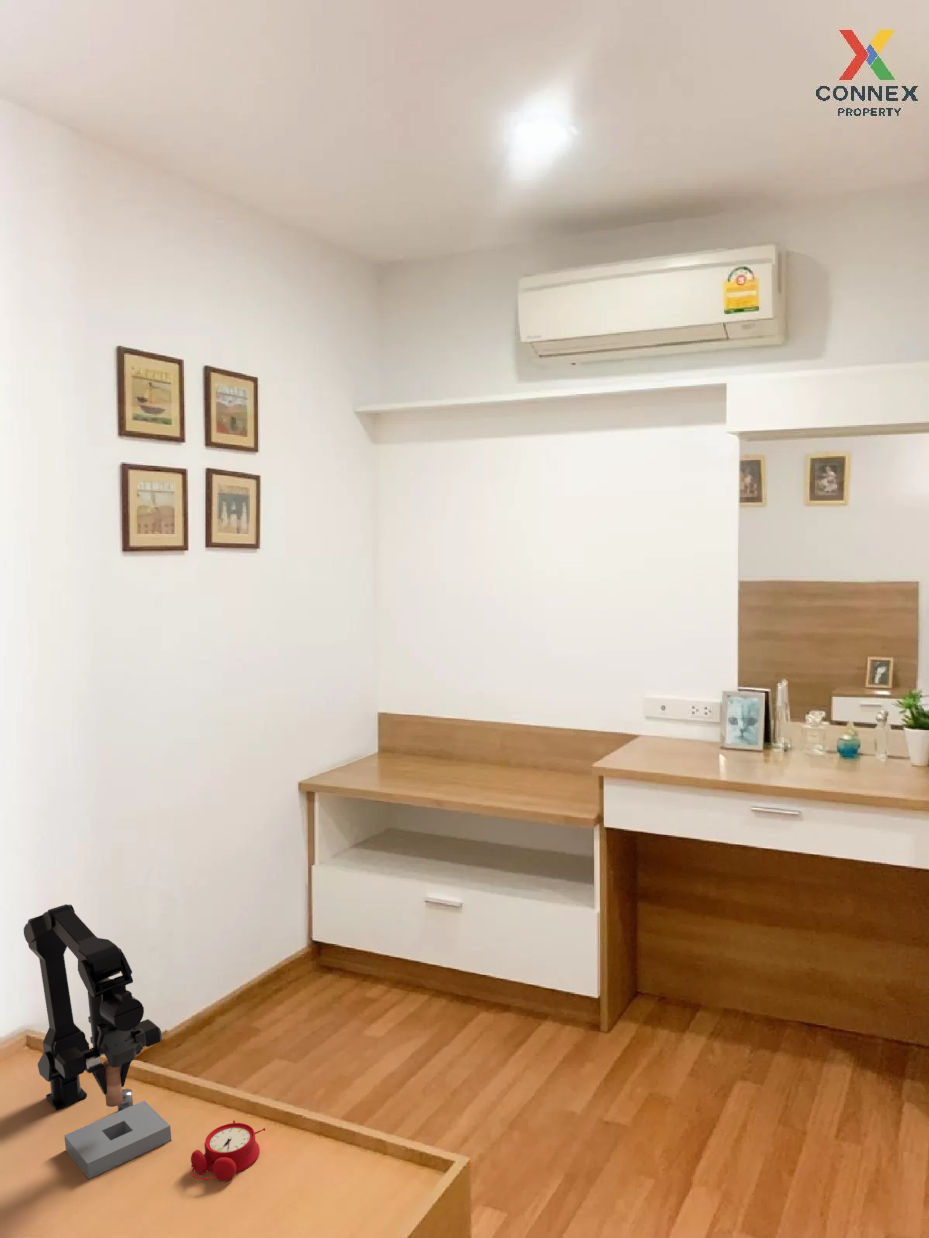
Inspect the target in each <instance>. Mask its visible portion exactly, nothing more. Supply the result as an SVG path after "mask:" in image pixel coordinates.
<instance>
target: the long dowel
mask: <svg viewBox="0 0 929 1238" xmlns="http://www.w3.org/2000/svg"><path fill="white" fill-rule="evenodd" d="M102 1064H103V1065H104V1066H105V1067H104V1077H105V1082H106V1087H107V1094H104V1095H105V1105H106V1106H107V1107H110V1108H113V1107H117V1106H118V1105H120V1104H121V1103H122V1102H123V1097H122V1090H123V1087H121V1076H120V1066H119V1067H111V1066H110V1064H109V1061H108V1060H107V1059H106V1060H104V1062H103V1063H102Z"/></svg>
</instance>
